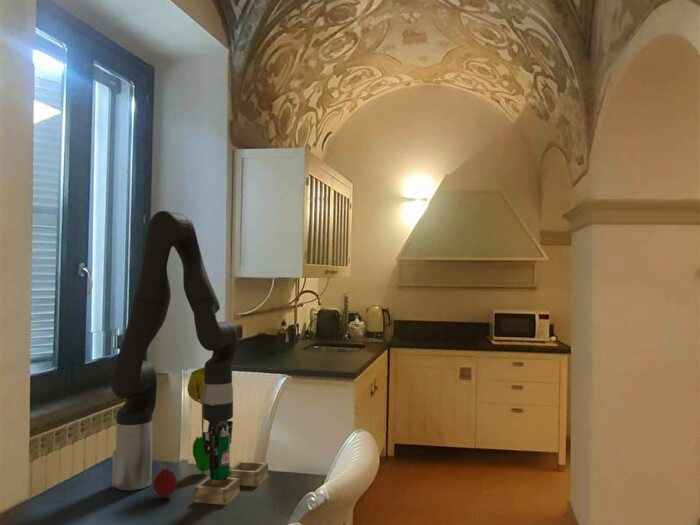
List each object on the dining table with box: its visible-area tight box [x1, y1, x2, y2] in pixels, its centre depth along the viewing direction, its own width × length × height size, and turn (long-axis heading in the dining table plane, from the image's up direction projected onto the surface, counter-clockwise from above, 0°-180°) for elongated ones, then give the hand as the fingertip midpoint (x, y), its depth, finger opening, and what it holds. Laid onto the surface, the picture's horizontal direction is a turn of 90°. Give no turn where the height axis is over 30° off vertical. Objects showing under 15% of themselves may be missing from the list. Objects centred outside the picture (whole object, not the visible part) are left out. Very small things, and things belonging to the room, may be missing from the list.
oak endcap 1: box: [194, 475, 241, 506], centre depth 157 cm, size 8×8×4 cm
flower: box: [187, 367, 209, 474], centre depth 176 cm, size 9×8×30 cm
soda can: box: [209, 430, 231, 480], centre depth 157 cm, size 5×5×12 cm
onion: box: [152, 465, 178, 499], centre depth 156 cm, size 6×6×8 cm
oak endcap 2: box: [228, 460, 269, 487], centre depth 170 cm, size 8×8×4 cm
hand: (218, 466), depth 157 cm, fingers closed on soda can, 5 cm apart
